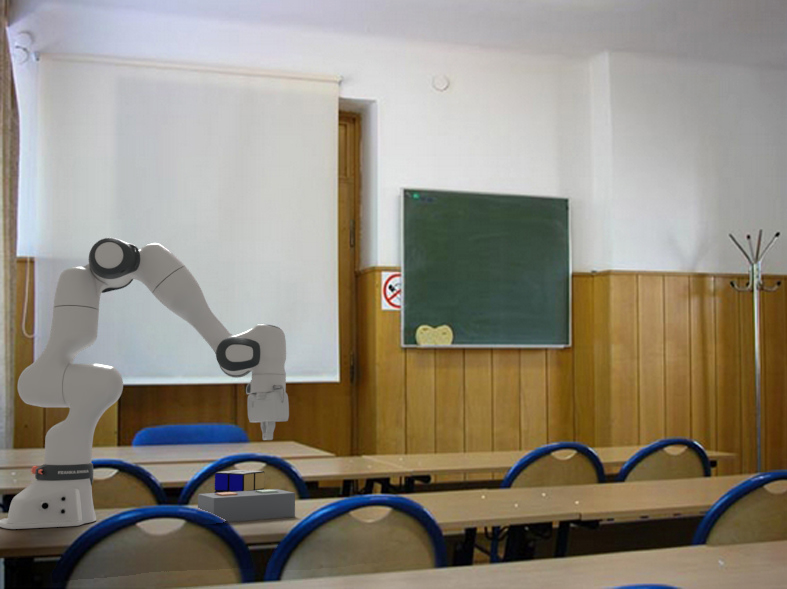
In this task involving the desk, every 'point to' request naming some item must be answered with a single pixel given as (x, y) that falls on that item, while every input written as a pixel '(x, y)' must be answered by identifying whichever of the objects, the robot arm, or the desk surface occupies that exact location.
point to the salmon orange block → (226, 494)
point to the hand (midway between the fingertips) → (267, 440)
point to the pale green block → (266, 491)
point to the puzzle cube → (239, 481)
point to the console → (249, 505)
